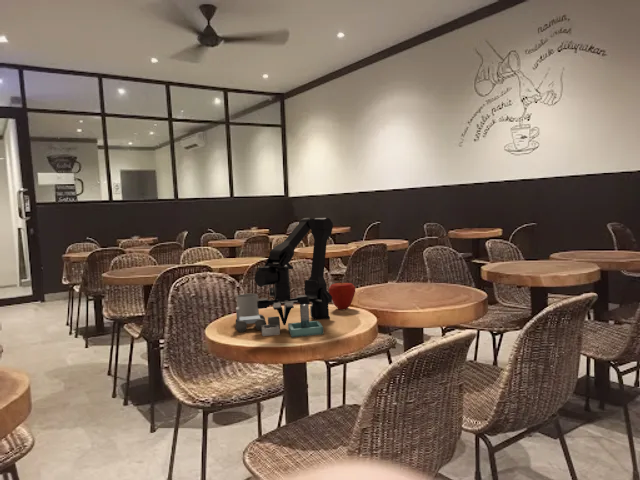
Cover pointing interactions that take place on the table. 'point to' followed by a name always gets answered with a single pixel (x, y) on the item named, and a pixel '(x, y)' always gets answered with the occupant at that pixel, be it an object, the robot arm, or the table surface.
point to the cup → (247, 305)
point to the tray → (305, 329)
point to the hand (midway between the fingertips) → (284, 324)
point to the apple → (342, 294)
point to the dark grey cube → (274, 320)
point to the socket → (270, 329)
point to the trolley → (248, 321)
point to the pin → (304, 316)
